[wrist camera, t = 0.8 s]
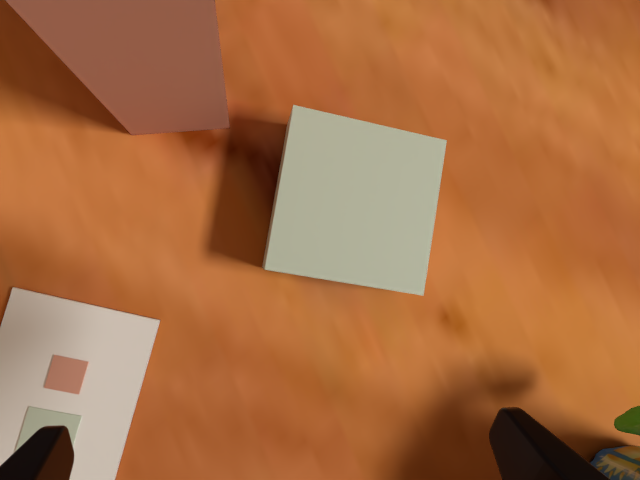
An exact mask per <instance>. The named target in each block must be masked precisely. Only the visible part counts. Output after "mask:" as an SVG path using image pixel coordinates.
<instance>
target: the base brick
mask: <svg viewBox="0 0 640 480" xmlns="http://www.w3.org/2000/svg"><path fill="white" fill-rule="evenodd" d="M446 142H447V140H443V139H438V138H434V137H430V136H425V135H421V134H417V133H412V132H408V131H404V130H399V129H395V128H391V127H386V126H382V125H378V124H373V123H369V122H365V121H361V120H356V119H352V118H348V117H343V116H339V115H335V114H330V113H326V112H322V111H317V110H313V109H309V108H304V107H300V106H296V105H293V108H292V111H291V114H290V117H289V120H288V124H287V129H286V134H285V140H284V146H283V152H282V157H281V163H280V169H279V174H278V180H277V186H276V191H275V197H274V203H273V208H272V214H271V220H270V225H269V231H268V237H267V242H266V248H265V254H264V260H263V265H262V268H263V269H264V270H270V271H276V272H282V273H289V274H295V275H301V276H307V277H313V278H319V279H325V280H331V281H338V282H344V283H350V284H356V285H362V286H368V287H374V288H380V289H387V290H393V291H399V292H405V293H411V294H417V295H423V296H424V289H425V282H426V276H427V269H428V262H429V256H430V249H431V242H432V235H433V229H434V222H435V215H436V209H437V202H438V195H439V189H440V182H441V175H442V169H443V162H444V155H445V149H446Z"/></svg>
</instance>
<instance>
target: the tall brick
mask: <svg viewBox="0 0 640 480" xmlns="http://www.w3.org/2000/svg"><path fill="white" fill-rule="evenodd" d="M5 1H6V2H7V3H8V4H9V5H10V6H11V7H12V8H13V9H14V10H15V11H16V12H17V13H18V15H19V16H20V17H21V18H22V19H23V20H24V21H25V22H26V23H27V24H28V25H29V26H30V27H31V28H32V29H33V31H34V32H35V33H36V34H37V35H38V36H39V37H40V38H41V39H42V40H43V41H44V42H45V43H46V44H47V45H48V46H49V48H50V49H51V50H52V51H53V52H54V53H55V54H56V55H57V56H58V57H59V58H60V59H61V60H62V61H63V62H64V64H65V65H66V66H67V67H68V68H69V69H70V70H71V71H72V72H73V73H74V74H75V75H76V76H77V77H78V78H79V79H80V81H81V82H82V83H83V84H84V85H85V86H86V87H87V88H88V89H89V90H90V91H91V92H92V93H93V94H94V95H95V97H96V98H97V99H98V100H99V101H100V102H101V103H102V104H103V105H104V106H105V107H106V108H107V109H108V110H109V111H110V112H111V114H112V115H113V116H114V117H115V118H116V119H117V120H118V121H119V122H120V123H121V124H122V125H123V126H124V127H125V128H126V130H127V131H128V132H129V133H130V134H131V135H141V134H155V133H169V132H182V131H196V130H210V129H223V128H230V125H229V116H228V108H227V99H226V91H225V83H224V74H223V66H222V58H221V49H220V41H219V32H218V24H217V16H216V7H215V0H5Z"/></svg>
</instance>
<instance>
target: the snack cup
mask: <svg viewBox="0 0 640 480" xmlns="http://www.w3.org/2000/svg"><path fill="white" fill-rule="evenodd" d="M614 426H615V428H616V429H617V430H619V431H622V432H625V433H631V434H636V435H640V406H637V407H634V408H631V409H630V410H628V411H626V412H625V413H624V414H622V415H621V416H619V417H617V418H616V419H615V421H614ZM590 464H592V465H593V466H594V467H595V468H597V469H598V470H599V471H600V472H602V473H603V474H604V475H605V476H607V477H608V478H609V479H610V480H640V446H621V447H615V448H608V449H602V450H600V451H599V452H598V453H597V454H596V455H595V458H594V460H593V461H592V462H590Z"/></svg>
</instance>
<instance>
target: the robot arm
mask: <svg viewBox="0 0 640 480" xmlns="http://www.w3.org/2000/svg"><path fill="white" fill-rule="evenodd" d="M489 439H490V444H491V447H492V450H493V453H494V456H495V459H496V462H497V465H498V468H499V471H500V474H501V477H502V480H610V479H609V478H608V477H607V476H605V475H604V474H603V473H602V472H600V471H599V470H598V469H597V468H595V467H594V466H593V465H592V464H590V463H589V462H588V461H586V460H585V459H584V458H583V457H581V456H580V455H579V454H578V453H576V452H575V451H574V450H573V449H571V448H570V447H569V446H568V445H566V444H565V443H564V442H563V441H561V440H560V439H559V438H557V437H556V436H555V435H554V434H552V433H551V432H550V431H549V430H547V429H546V428H545V427H544V426H542V425H541V424H540V423H539V422H537V421H536V420H535V419H534V418H532V417H531V416H530V415H528V414H527V413H526V412H525V411H523V410H522V409H520V408H517V407H508V408H501V409H500V410H499V412H498V414H497V416H496V418H495V420H494V422H493V424H492V426H491V429H490V432H489ZM73 463H74V449H73V445H72V442H71V438H70V434H69V430H68V428H67V427H66V426H64V425H57V426H44V427H42V428H40V429H39V430H37V431H36V432H35V433H34V434H33V435H32V436H31V437H30V438H29V439H28V440H27V441H26V442H25V443H24V444H23V445H22V446H21V447H19V448H18V449H17V450H16V451H15V452H14V453H13V454H12V455H11V456H10V457H9V458H8V459H7V460H6V461H5V462H4V463H3V464H2V465H1V466H0V480H69V479H70V475H71V471H72V468H73Z"/></svg>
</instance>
